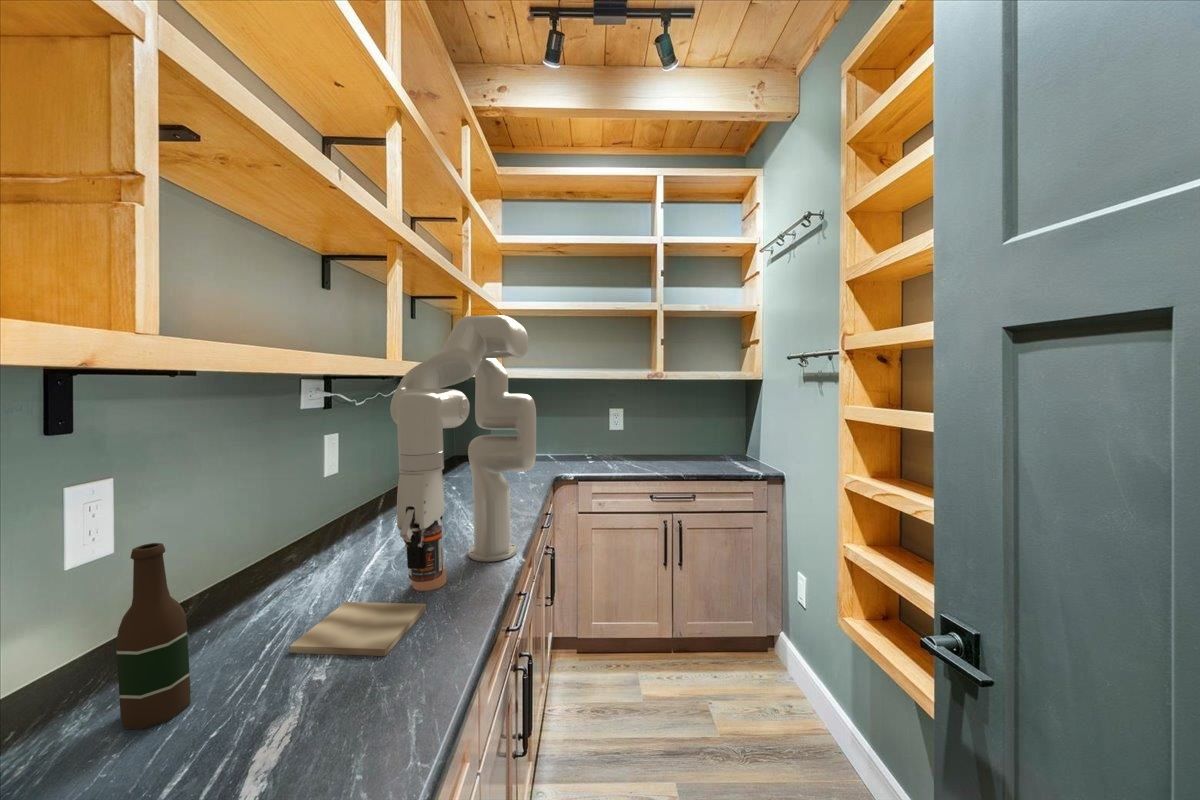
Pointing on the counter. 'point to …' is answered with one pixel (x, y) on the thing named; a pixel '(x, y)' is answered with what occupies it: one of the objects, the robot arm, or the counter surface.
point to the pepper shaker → (434, 583)
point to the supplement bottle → (430, 555)
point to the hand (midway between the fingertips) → (425, 559)
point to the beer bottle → (152, 647)
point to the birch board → (360, 629)
